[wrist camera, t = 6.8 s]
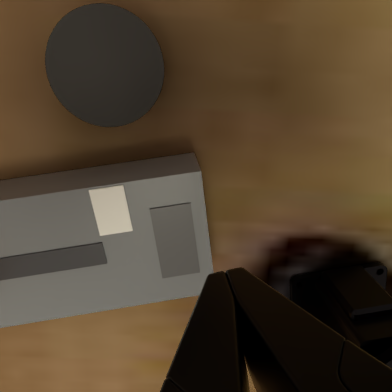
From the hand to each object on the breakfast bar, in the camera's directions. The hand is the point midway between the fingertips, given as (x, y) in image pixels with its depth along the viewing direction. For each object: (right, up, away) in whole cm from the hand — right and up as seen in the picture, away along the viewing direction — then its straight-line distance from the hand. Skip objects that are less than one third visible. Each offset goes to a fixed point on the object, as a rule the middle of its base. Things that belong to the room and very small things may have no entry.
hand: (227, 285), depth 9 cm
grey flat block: (-9, 0, +12) cm, 15 cm away
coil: (-5, +9, +10) cm, 14 cm away
